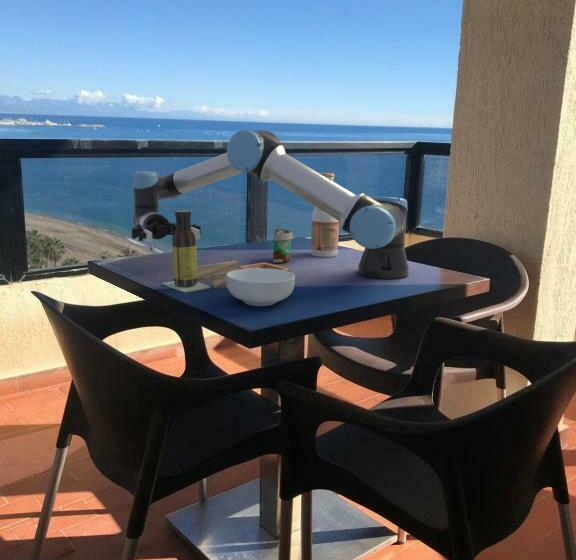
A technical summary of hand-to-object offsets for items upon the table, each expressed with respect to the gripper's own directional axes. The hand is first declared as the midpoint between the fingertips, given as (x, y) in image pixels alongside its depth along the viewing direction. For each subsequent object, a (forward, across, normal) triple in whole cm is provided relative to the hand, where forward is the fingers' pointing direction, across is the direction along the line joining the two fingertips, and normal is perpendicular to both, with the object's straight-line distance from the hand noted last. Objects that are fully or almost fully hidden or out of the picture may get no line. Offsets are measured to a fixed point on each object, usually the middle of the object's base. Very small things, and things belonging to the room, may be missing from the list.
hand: (175, 236), depth 166 cm
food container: (-11, -39, -12) cm, 43 cm away
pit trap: (+2, -27, -12) cm, 29 cm away
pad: (+9, 0, -12) cm, 15 cm away
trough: (+6, -13, -12) cm, 18 cm away
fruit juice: (-16, -58, -12) cm, 61 cm away
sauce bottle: (+9, 0, -12) cm, 15 cm away
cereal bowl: (+31, -12, -12) cm, 35 cm away
